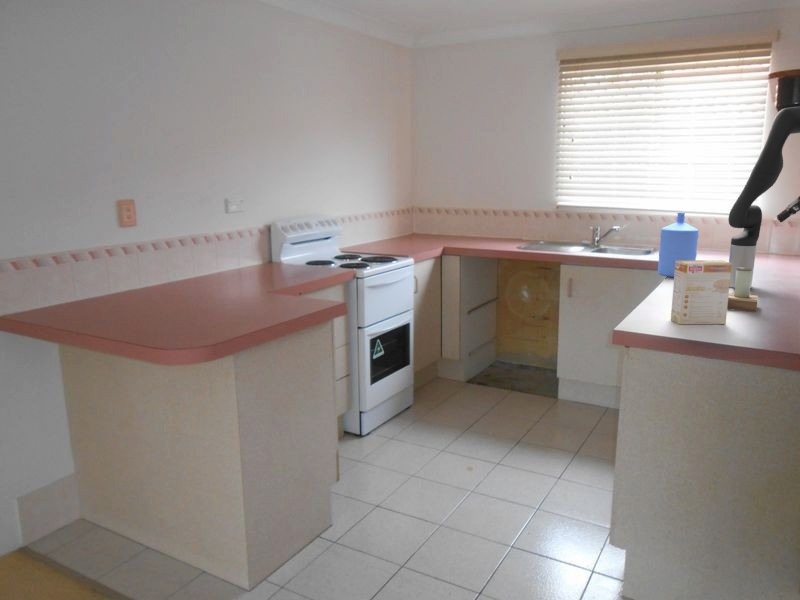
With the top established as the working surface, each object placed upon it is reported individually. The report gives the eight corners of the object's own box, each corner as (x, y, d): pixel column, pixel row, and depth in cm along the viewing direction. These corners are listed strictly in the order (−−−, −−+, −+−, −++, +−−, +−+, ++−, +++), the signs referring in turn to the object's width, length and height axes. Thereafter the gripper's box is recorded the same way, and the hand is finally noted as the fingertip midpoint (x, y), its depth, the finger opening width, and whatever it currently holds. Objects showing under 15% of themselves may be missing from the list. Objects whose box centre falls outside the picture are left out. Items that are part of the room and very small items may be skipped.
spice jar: (734, 294, 233) (736, 266, 231) (750, 295, 230) (752, 267, 229) (733, 296, 229) (735, 268, 227) (749, 297, 226) (751, 269, 225)
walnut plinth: (725, 303, 237) (726, 292, 236) (756, 306, 232) (757, 295, 232) (723, 308, 229) (724, 297, 228) (755, 311, 224) (757, 300, 223)
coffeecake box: (715, 319, 213) (721, 259, 209) (726, 324, 206) (733, 262, 202) (669, 319, 212) (674, 259, 208) (679, 324, 205) (685, 263, 201)
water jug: (698, 278, 290) (704, 214, 284) (660, 277, 293) (665, 214, 287) (690, 273, 305) (695, 212, 299) (654, 271, 308) (659, 211, 302)
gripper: (812, 177, 225) (770, 210, 233) (815, 178, 213) (770, 212, 221) (829, 193, 224) (786, 226, 232) (832, 195, 212) (787, 229, 219)
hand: (778, 219), depth 226 cm, fingers open, 8 cm apart
